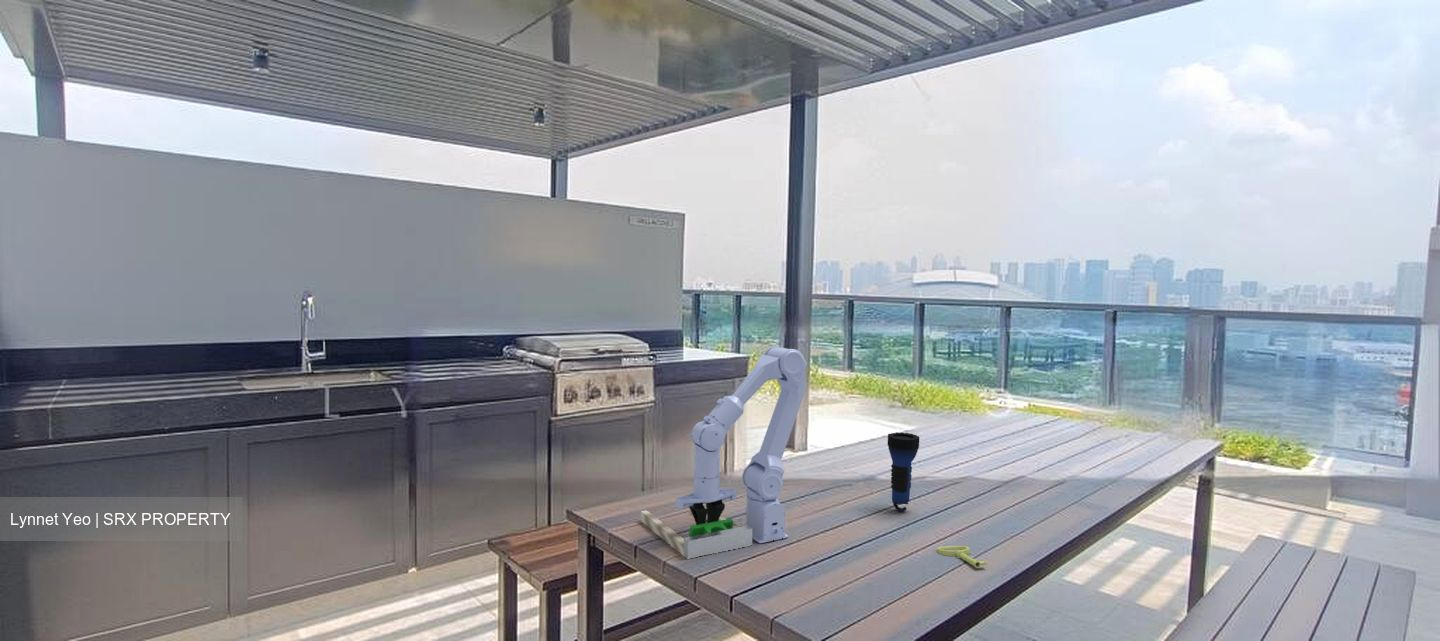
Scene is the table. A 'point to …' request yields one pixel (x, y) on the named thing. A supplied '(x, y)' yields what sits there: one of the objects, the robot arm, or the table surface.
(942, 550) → the key
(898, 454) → the flashlight
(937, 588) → the table surface
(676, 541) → the guide rails
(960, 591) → the table surface
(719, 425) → the robot arm
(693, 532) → the pipe clamp
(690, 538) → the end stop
